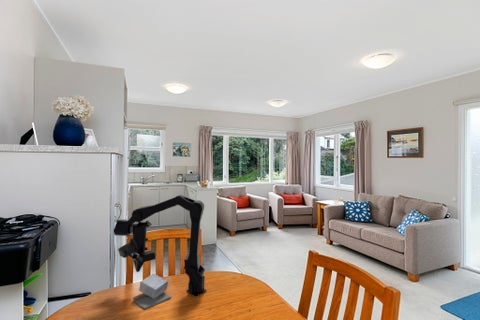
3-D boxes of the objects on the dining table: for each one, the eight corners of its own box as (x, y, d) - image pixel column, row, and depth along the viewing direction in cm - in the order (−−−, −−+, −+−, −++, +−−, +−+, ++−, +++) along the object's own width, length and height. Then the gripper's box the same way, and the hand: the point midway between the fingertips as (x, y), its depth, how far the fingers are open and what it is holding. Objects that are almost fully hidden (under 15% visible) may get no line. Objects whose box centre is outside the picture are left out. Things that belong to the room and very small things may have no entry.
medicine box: (138, 290, 109) (153, 299, 106) (140, 280, 109) (155, 290, 105) (151, 282, 116) (166, 290, 113) (153, 272, 116) (168, 281, 112)
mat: (159, 290, 114) (159, 287, 114) (171, 298, 109) (171, 294, 109) (132, 301, 105) (133, 297, 105) (144, 309, 99) (144, 305, 99)
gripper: (111, 235, 115) (109, 270, 115) (132, 244, 103) (130, 284, 103) (135, 230, 124) (133, 263, 123) (157, 239, 112) (155, 276, 111)
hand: (137, 271), depth 115 cm, fingers closed
